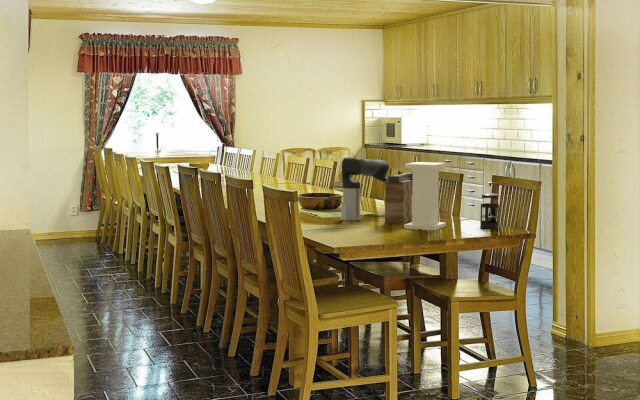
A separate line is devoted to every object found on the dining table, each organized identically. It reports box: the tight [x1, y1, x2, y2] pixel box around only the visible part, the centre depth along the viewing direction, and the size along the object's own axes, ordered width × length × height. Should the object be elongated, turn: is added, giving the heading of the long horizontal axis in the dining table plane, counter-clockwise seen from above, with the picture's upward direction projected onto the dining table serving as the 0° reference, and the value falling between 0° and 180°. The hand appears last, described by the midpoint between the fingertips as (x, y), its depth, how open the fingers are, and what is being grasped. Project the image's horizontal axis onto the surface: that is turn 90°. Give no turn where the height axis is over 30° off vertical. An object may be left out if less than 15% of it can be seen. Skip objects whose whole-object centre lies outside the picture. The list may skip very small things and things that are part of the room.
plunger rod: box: [387, 172, 413, 182], centre depth 438 cm, size 26×6×3 cm, turn 152°
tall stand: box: [403, 161, 448, 232], centre depth 415 cm, size 16×16×32 cm
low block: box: [384, 180, 412, 225], centre depth 437 cm, size 12×10×22 cm
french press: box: [479, 181, 500, 230], centre depth 412 cm, size 12×9×23 cm
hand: (406, 171), depth 444 cm, fingers open, 8 cm apart
